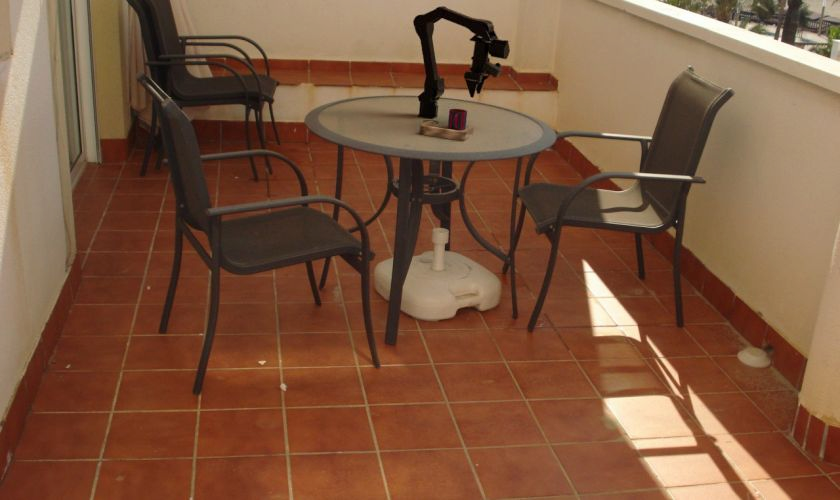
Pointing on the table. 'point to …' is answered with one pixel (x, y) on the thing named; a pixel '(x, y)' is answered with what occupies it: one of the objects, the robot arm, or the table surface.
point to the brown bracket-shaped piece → (445, 132)
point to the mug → (457, 119)
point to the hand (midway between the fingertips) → (475, 95)
